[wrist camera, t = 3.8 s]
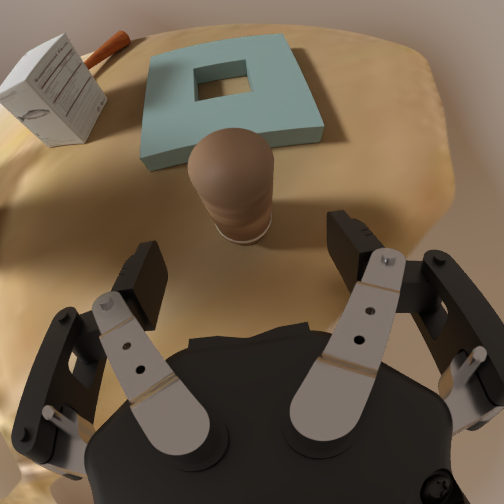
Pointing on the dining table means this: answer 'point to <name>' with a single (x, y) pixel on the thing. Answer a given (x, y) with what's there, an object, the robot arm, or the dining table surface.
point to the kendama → (108, 49)
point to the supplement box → (54, 93)
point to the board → (225, 98)
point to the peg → (235, 182)
